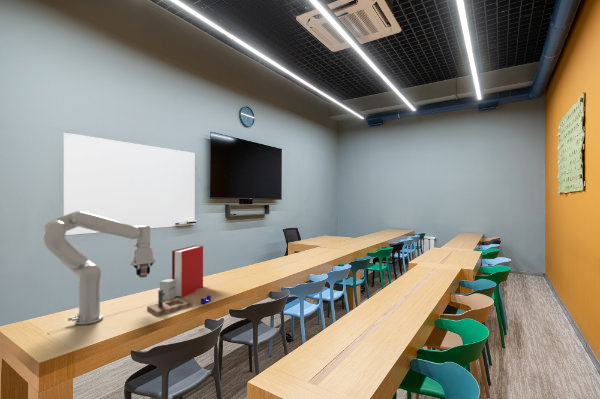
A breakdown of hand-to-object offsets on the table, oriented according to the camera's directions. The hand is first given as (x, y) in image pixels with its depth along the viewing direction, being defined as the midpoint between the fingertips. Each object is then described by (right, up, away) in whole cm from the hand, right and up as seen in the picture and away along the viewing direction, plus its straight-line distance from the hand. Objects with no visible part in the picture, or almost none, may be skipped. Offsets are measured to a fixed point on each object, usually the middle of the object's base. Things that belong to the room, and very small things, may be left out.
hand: (143, 274), depth 186 cm
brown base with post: (+17, -21, 0) cm, 27 cm away
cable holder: (+35, -22, +10) cm, 43 cm away
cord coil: (0, -1, 0) cm, 1 cm away
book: (+16, -21, +34) cm, 43 cm away
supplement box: (+8, -21, +17) cm, 29 cm away
